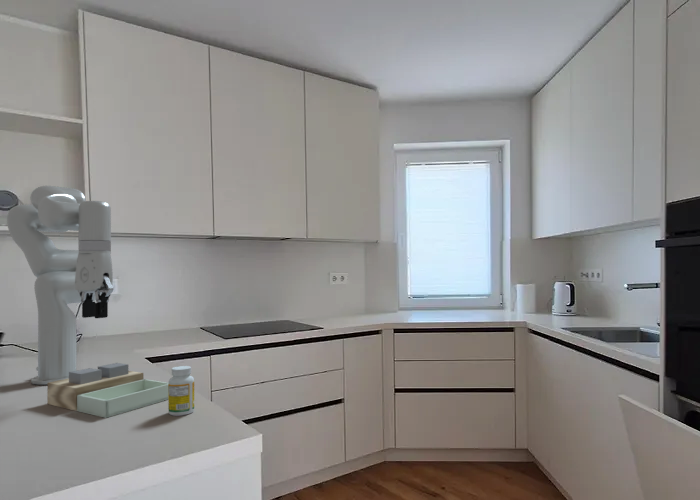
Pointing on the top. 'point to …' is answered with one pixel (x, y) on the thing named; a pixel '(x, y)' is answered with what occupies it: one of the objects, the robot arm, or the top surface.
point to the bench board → (83, 389)
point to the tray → (122, 398)
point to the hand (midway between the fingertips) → (94, 316)
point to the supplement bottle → (181, 391)
